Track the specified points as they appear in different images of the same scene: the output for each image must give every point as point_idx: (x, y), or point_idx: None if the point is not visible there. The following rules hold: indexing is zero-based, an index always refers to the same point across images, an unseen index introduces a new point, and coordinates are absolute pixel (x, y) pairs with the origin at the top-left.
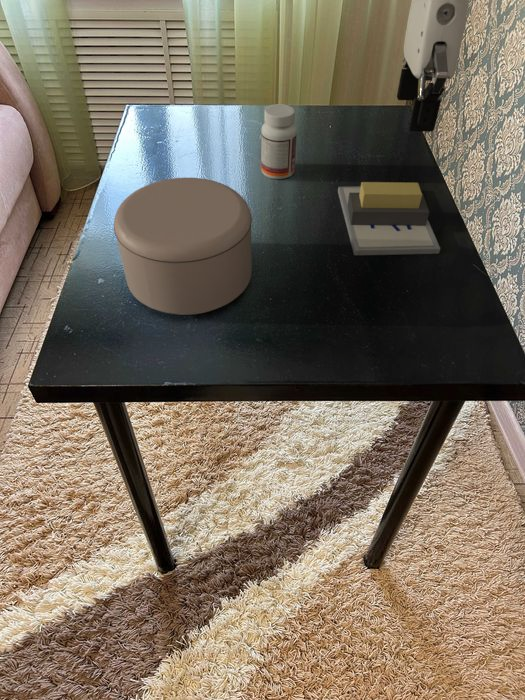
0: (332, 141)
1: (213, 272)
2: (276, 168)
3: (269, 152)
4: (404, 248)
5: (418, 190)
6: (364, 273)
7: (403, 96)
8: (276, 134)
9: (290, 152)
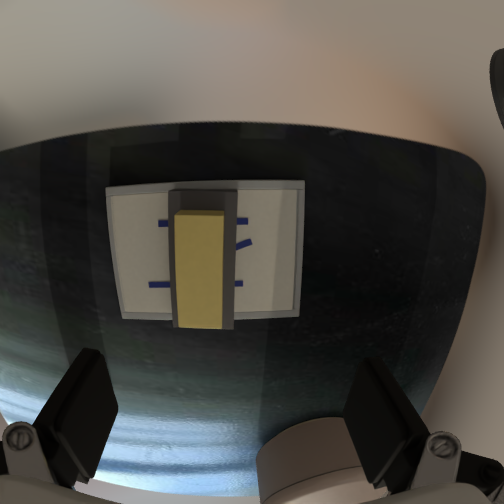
0: (4, 294)
1: None
2: None
3: None
4: (301, 241)
5: (206, 220)
6: (336, 301)
7: (111, 405)
8: None
9: None
